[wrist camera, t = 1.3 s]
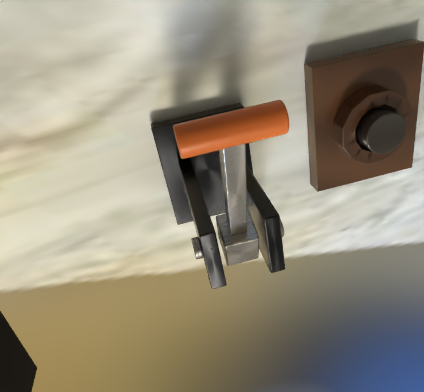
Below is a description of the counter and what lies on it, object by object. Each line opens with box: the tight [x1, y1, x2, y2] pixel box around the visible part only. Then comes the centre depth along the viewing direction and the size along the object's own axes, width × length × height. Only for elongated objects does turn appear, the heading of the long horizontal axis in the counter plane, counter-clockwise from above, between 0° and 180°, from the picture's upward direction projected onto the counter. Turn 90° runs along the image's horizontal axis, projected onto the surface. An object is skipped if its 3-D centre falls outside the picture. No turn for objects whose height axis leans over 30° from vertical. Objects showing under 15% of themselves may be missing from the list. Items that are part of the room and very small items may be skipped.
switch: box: [173, 100, 289, 266], centre depth 22 cm, size 12×5×2 cm, turn 11°
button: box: [357, 108, 407, 154], centre depth 33 cm, size 4×4×2 cm
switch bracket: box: [151, 103, 285, 289], centre depth 30 cm, size 10×8×14 cm
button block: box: [304, 39, 424, 192], centre depth 35 cm, size 12×10×4 cm
